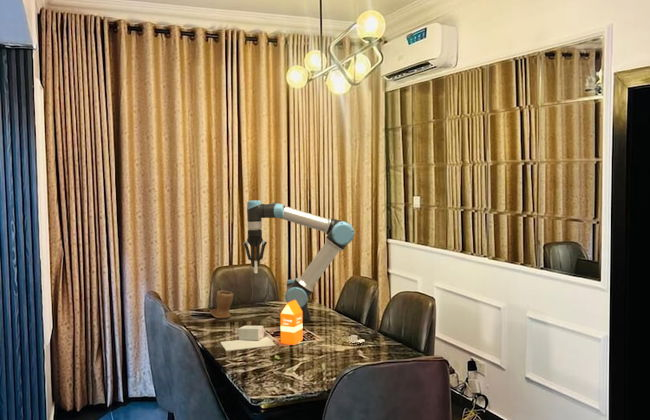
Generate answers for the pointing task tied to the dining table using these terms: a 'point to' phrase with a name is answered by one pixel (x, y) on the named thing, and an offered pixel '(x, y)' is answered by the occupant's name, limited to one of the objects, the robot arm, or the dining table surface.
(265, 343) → the mat
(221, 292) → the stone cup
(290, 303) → the orange juice
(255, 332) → the small box
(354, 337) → the teacup and saucer
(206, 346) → the dining table surface
